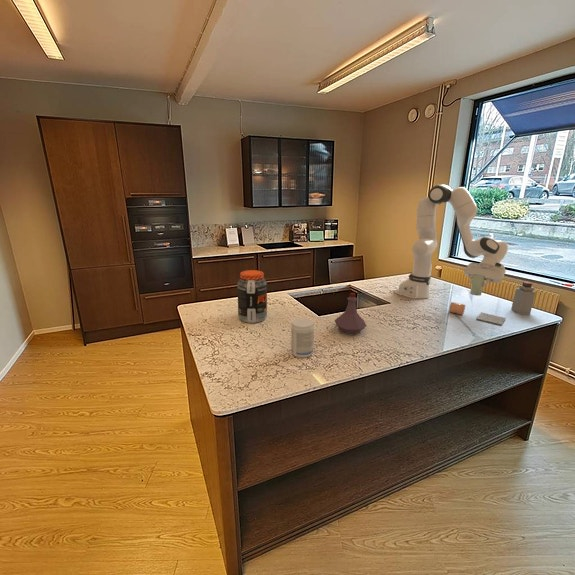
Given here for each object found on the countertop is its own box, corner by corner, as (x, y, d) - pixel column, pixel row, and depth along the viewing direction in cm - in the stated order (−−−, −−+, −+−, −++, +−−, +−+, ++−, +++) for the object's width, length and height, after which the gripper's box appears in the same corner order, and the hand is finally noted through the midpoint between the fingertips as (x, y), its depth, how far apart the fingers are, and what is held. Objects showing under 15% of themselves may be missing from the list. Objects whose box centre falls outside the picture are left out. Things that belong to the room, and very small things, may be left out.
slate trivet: (476, 319, 178) (476, 318, 178) (480, 313, 187) (481, 312, 187) (501, 325, 171) (501, 324, 171) (505, 319, 179) (505, 317, 179)
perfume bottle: (530, 313, 188) (537, 284, 182) (518, 313, 188) (525, 284, 182) (522, 309, 194) (529, 281, 188) (511, 309, 194) (517, 280, 189)
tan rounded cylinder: (448, 311, 186) (451, 301, 186) (450, 312, 191) (452, 302, 191) (461, 314, 182) (464, 304, 182) (463, 315, 187) (465, 305, 187)
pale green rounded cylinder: (468, 294, 185) (472, 275, 182) (471, 291, 189) (474, 273, 186) (479, 296, 182) (483, 277, 178) (482, 293, 186) (485, 275, 182)
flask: (327, 326, 167) (329, 290, 161) (354, 322, 173) (357, 286, 167) (344, 340, 153) (347, 300, 146) (373, 335, 158) (376, 296, 152)
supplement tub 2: (317, 352, 141) (318, 321, 137) (304, 361, 134) (305, 329, 130) (300, 345, 147) (300, 315, 143) (286, 353, 140) (286, 322, 136)
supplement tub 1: (262, 325, 168) (262, 277, 160) (234, 322, 171) (232, 275, 163) (270, 313, 183) (270, 269, 175) (244, 311, 185) (242, 268, 178)
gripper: (469, 258, 192) (457, 276, 190) (506, 265, 176) (494, 285, 173) (471, 265, 196) (460, 282, 193) (508, 272, 179) (496, 292, 177)
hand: (476, 284), depth 183 cm, fingers closed on pale green rounded cylinder, 6 cm apart
